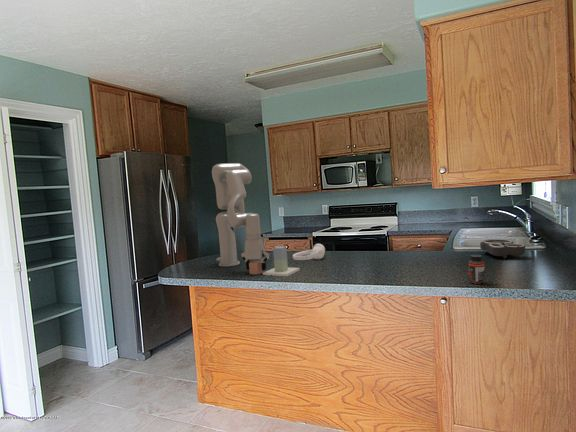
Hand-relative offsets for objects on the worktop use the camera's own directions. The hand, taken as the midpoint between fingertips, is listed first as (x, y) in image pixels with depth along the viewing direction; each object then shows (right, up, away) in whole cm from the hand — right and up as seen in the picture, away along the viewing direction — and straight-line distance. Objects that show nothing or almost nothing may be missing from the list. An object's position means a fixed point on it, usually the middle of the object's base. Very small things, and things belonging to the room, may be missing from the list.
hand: (256, 269), depth 212 cm
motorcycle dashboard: (+129, +7, +2) cm, 130 cm away
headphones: (+29, +2, +33) cm, 44 cm away
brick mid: (+13, +6, -3) cm, 14 cm away
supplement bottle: (+94, +1, -47) cm, 105 cm away
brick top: (0, -2, 0) cm, 2 cm away
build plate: (+13, -1, -3) cm, 14 cm away
